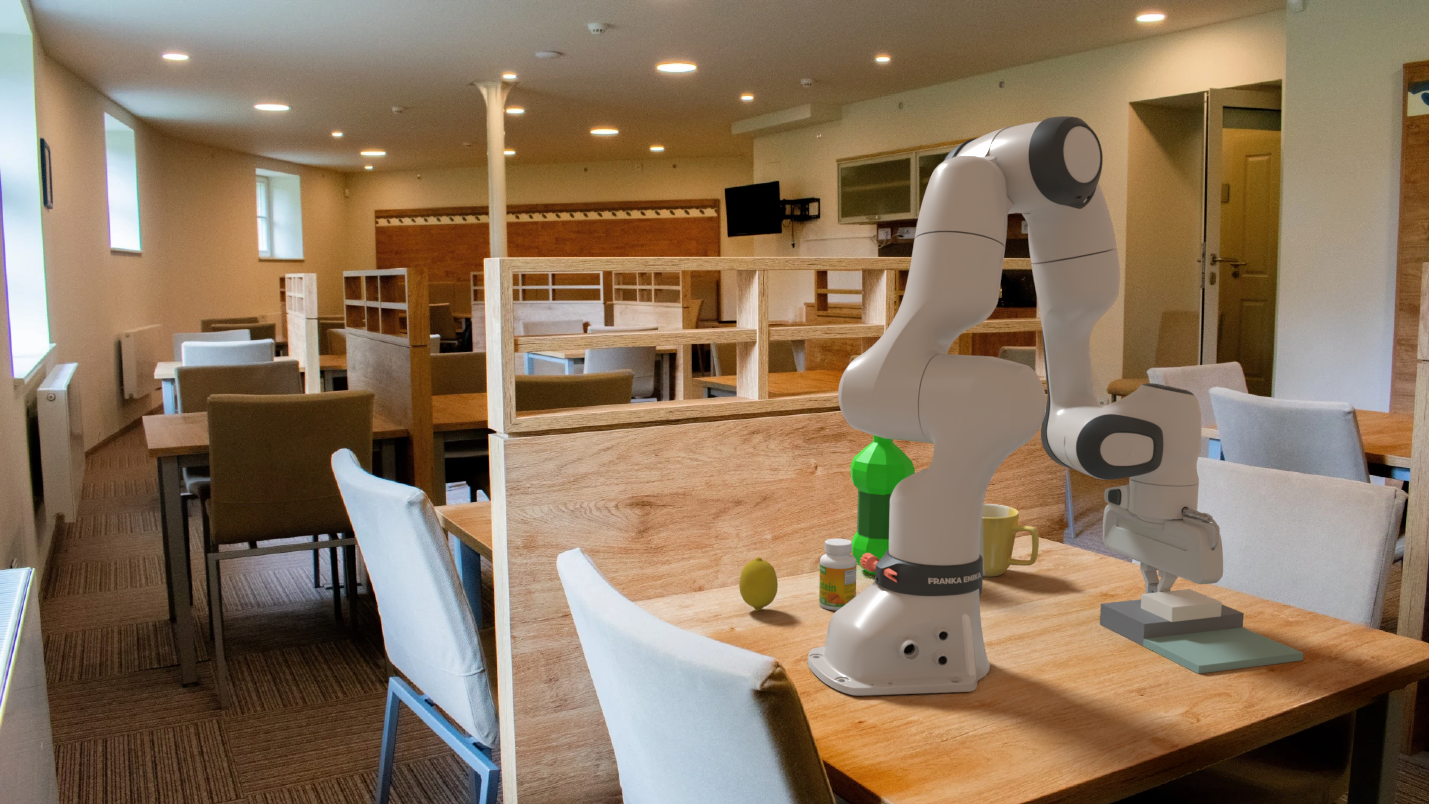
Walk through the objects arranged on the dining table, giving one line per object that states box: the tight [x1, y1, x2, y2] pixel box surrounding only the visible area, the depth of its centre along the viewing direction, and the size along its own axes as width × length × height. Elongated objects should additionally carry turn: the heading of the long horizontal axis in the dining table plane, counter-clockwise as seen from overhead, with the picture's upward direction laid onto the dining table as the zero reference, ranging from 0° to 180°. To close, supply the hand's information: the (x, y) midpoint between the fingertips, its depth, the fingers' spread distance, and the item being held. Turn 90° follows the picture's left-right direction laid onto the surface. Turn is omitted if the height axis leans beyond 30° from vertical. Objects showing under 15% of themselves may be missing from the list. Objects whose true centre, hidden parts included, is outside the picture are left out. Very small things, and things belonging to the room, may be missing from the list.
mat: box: [1142, 626, 1304, 675], centre depth 134 cm, size 16×10×1 cm, turn 106°
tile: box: [1140, 588, 1223, 622], centre depth 141 cm, size 8×6×2 cm
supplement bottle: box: [818, 537, 858, 612], centre depth 153 cm, size 5×5×10 cm
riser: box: [1099, 599, 1245, 647], centre depth 143 cm, size 16×9×3 cm, turn 106°
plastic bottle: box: [849, 435, 916, 576], centre depth 170 cm, size 10×10×25 cm
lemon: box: [738, 556, 778, 612], centre depth 151 cm, size 6×6×8 cm
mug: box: [979, 503, 1040, 577], centre depth 169 cm, size 14×10×10 cm
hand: (1157, 597), depth 145 cm, fingers closed
